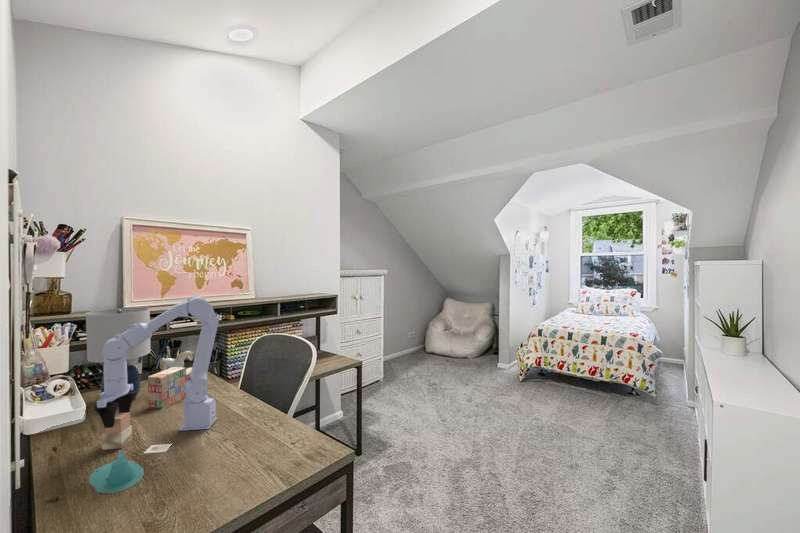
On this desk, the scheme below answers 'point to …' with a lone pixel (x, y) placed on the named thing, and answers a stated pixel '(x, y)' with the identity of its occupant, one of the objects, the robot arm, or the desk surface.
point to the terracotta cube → (119, 423)
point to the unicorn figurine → (175, 360)
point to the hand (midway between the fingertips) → (117, 421)
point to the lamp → (106, 327)
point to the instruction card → (157, 448)
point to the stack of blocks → (167, 386)
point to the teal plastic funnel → (116, 475)
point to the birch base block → (116, 439)
